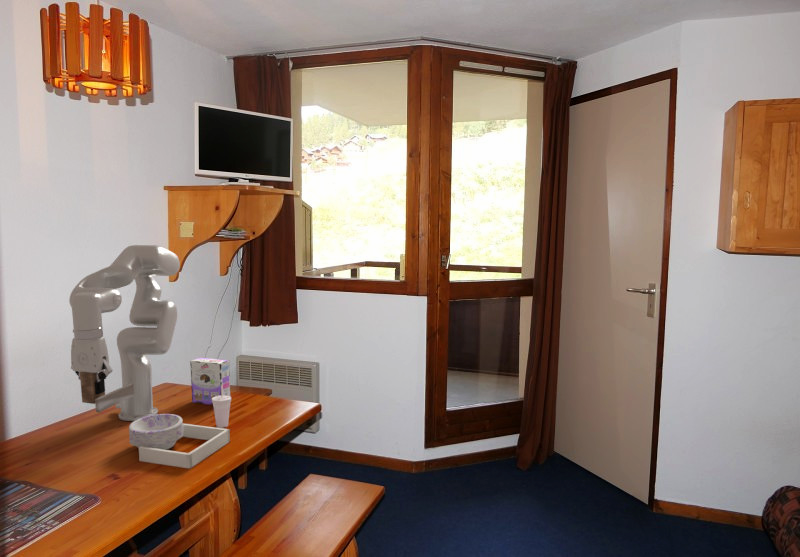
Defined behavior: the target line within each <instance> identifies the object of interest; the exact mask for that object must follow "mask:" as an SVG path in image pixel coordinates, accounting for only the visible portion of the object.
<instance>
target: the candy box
mask: <svg viewBox="0 0 800 557" xmlns="http://www.w3.org/2000/svg"><path fill="white" fill-rule="evenodd" d="M189 362H190V364H189V365H190V381H191V382H190V383H191V385H190V386H191V402H192V403H194V404H195V403H197V404H203V405H212V406H213V403H212V398H213V397H215V396H220V395H221V385H223V395H228V396H231V381H230V380H231V378H230V376H231V375H230V374H231V373H230V370H231V369H230V360H229V359H218V358H210V357H209V358H207V357H197V358H193V359H192V360H189Z"/></svg>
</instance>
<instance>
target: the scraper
mask: <svg viewBox="0 0 800 557" xmlns="http://www.w3.org/2000/svg"><path fill="white" fill-rule="evenodd" d="M100 375H101V373H99V376H100ZM95 382H96V378H95V375H94V373H87V372H80V390H81V401H82V403H83V404H84V403H86V404H90V405H93V404H94V405H95V412H96V413H101V412H104V411H105V410H108V409H109V408H112V407H113V406H116V405H117V404H118V403H120V402H122V401H124V400H126V399H128V398H130V397H132V396H134V385H133V384H131V383H130V384H128V385H126V386H123V387H122V386H121V387H119V388H117V389H115V390H113V391H110V392H108V393H106V391H105V392H103V393H100V394H98V395H97V394H96V392H95Z"/></svg>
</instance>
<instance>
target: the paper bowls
mask: <svg viewBox="0 0 800 557" xmlns="http://www.w3.org/2000/svg"><path fill="white" fill-rule="evenodd" d="M183 420H184V419H183V418H182V417H181V416H180V415H177V414H174V413H172V414H171V413H160V414H158V413H157V414H156V415H151V416H146V417H143V418H140V419H138V420H136V421H131V423H130V424H129V426H128V433H129V444H130V445H131V446H134V447H137V448H138V449H139V447H141V446H142V447H149V448H156V449H163V450H170V449H171V448H172V447H174V446H175V444H176V442H177V441H178V440H180V439H182V438H183V437H182V436H183Z"/></svg>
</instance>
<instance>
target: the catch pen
mask: <svg viewBox="0 0 800 557" xmlns="http://www.w3.org/2000/svg"><path fill="white" fill-rule="evenodd" d="M230 432H231V430H230V429H229V428H218V427H213V426H206V425H199V424H197V425H196V424H191V423H183V436H182V437H181V438H189V439H198V440H204V441H205V442H204V443H202V444H201V445H199V446H198V447H196V448H194V449H193V450H191V451H190V452H184V451H183V452H182V451H175V450H170V449H167V450H163V449H156V448H149V447H142V446H141V447H139V448H138V455H139V457H138V458H139V462H144V463H150V464H156V465H162V466H170V467H177V468H184V469H189V470H190V469H191V468H193V467H195V466H196V465H197V464H200V463H201V461H204V460H205V459H206V458H208V457H209V456H211V455H212V454H214V453H215V452H217V451H219V449H221V448H222V447H224V446H226V445H227V444H229V443H230V442H231V434H230Z"/></svg>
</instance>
